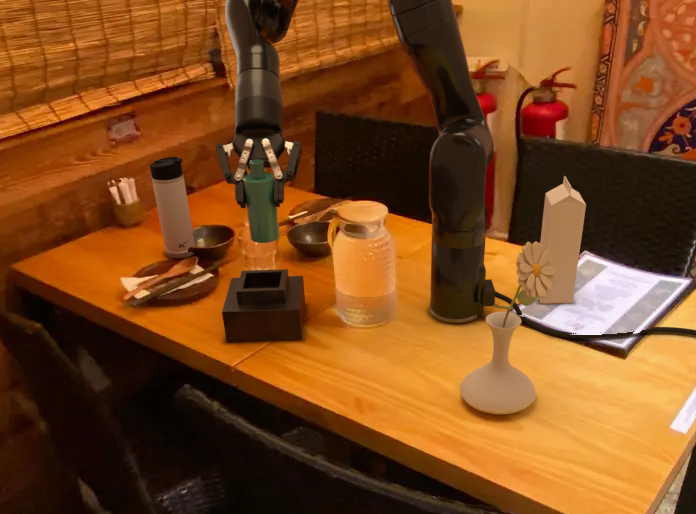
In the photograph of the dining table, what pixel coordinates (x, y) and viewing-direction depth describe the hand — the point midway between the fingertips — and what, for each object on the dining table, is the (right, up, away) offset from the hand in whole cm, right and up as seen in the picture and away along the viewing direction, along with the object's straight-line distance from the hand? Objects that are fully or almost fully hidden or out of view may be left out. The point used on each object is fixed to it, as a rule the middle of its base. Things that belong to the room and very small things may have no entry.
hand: (260, 205), depth 123 cm
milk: (+51, -11, +23) cm, 58 cm away
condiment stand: (-1, -17, +17) cm, 24 cm away
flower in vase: (+37, -31, -4) cm, 49 cm away
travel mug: (-23, +1, +43) cm, 49 cm away
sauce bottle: (0, -4, +5) cm, 6 cm away
